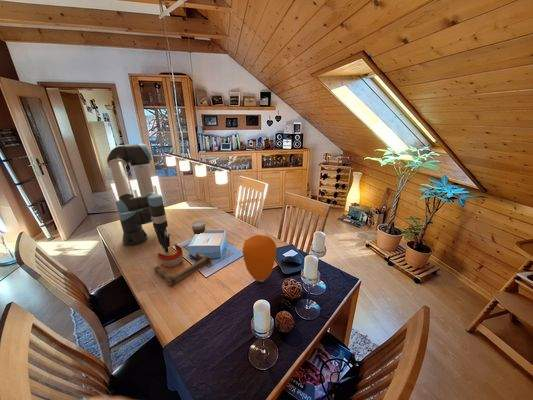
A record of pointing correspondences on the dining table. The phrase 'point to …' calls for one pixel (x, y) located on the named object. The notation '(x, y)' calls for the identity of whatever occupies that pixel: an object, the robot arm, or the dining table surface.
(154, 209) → the robot arm
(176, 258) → the toy
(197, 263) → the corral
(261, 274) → the orange egg-shaped ornament
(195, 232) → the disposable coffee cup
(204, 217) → the dining table surface
